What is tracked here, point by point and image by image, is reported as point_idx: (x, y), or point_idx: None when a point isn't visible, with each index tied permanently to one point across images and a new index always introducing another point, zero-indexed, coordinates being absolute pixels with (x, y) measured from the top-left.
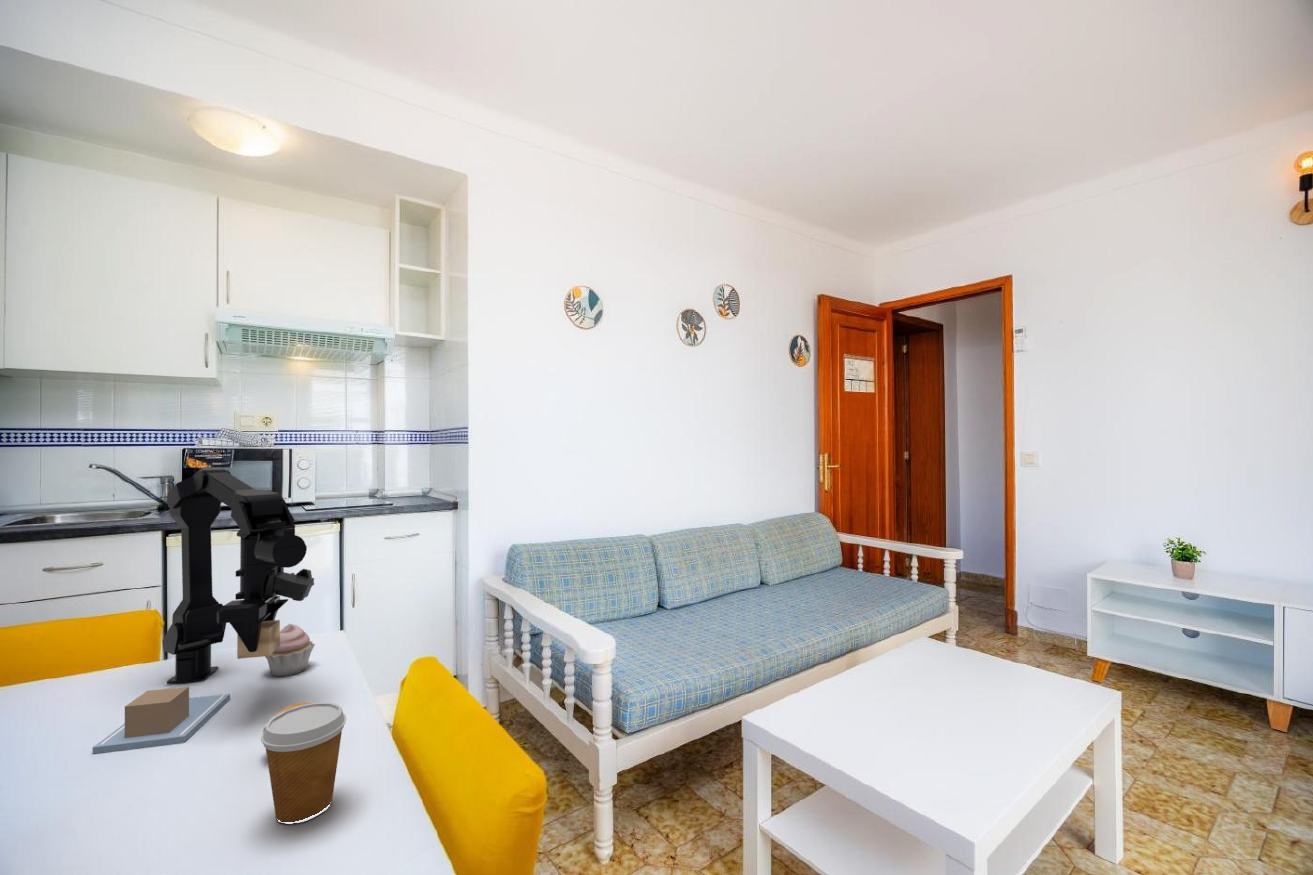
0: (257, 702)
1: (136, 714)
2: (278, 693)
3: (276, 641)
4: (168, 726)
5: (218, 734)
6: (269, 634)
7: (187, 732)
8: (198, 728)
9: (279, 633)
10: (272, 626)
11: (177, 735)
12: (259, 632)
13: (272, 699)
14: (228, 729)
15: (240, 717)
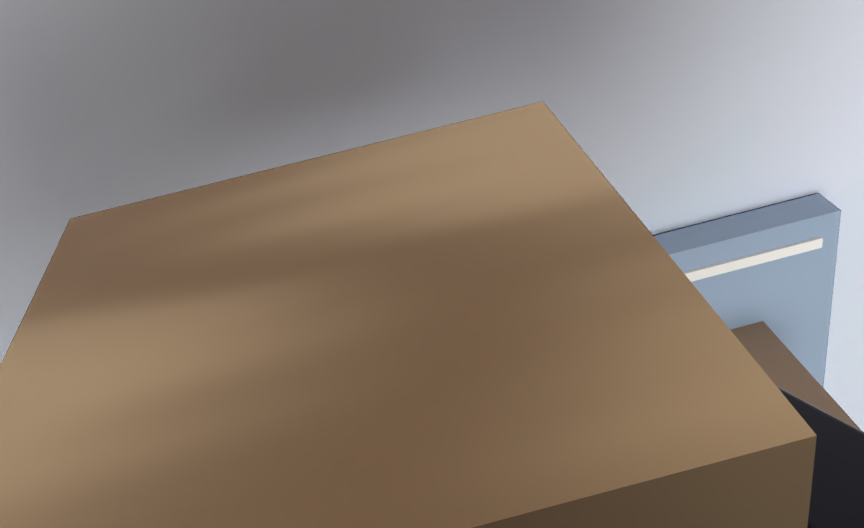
0: (284, 122)
1: None
2: (100, 56)
3: (215, 252)
4: (781, 347)
5: (769, 63)
6: (709, 312)
7: (791, 229)
8: (668, 235)
9: (19, 365)
10: (553, 486)
11: (816, 256)
12: (856, 510)
13: (224, 33)
14: (711, 43)
15: (535, 82)
